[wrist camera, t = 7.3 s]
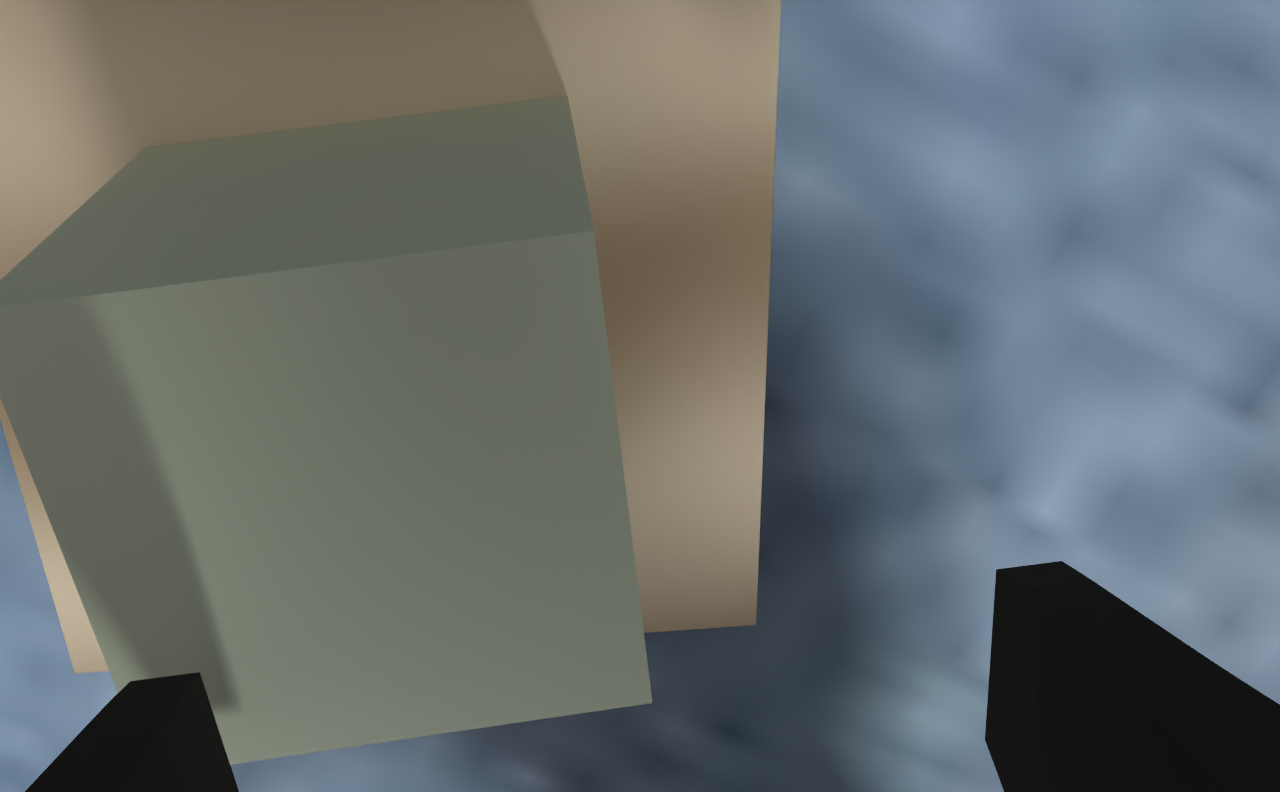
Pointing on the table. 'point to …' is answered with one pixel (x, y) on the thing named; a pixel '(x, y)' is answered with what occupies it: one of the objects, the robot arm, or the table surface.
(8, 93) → the base block
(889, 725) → the table surface
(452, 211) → the sage cube
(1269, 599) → the table surface
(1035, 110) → the table surface
